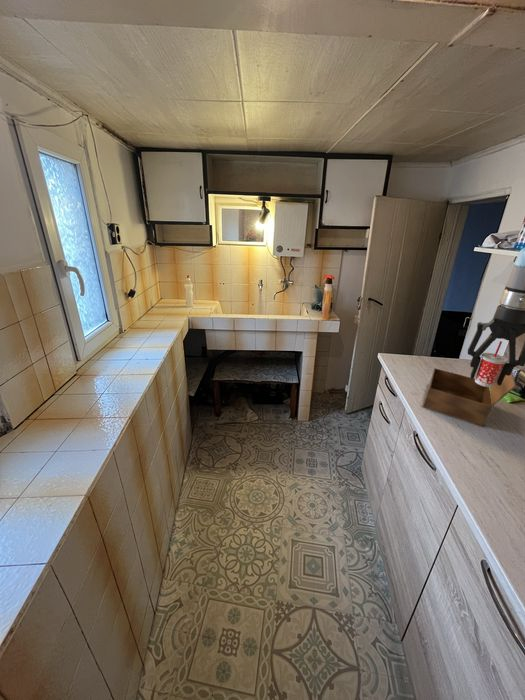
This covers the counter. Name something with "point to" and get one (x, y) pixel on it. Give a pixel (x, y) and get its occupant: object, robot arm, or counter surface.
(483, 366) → the beverage cup
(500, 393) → the flap
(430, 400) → the brown open-topped box
